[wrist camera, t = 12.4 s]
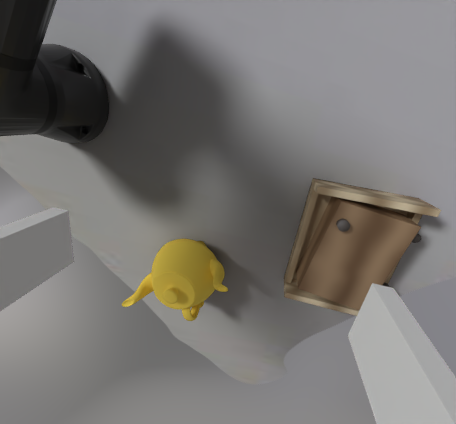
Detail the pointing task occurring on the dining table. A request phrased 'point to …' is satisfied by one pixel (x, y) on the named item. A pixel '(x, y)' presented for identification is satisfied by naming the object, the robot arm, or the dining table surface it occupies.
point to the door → (353, 250)
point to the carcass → (312, 216)
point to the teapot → (182, 277)
